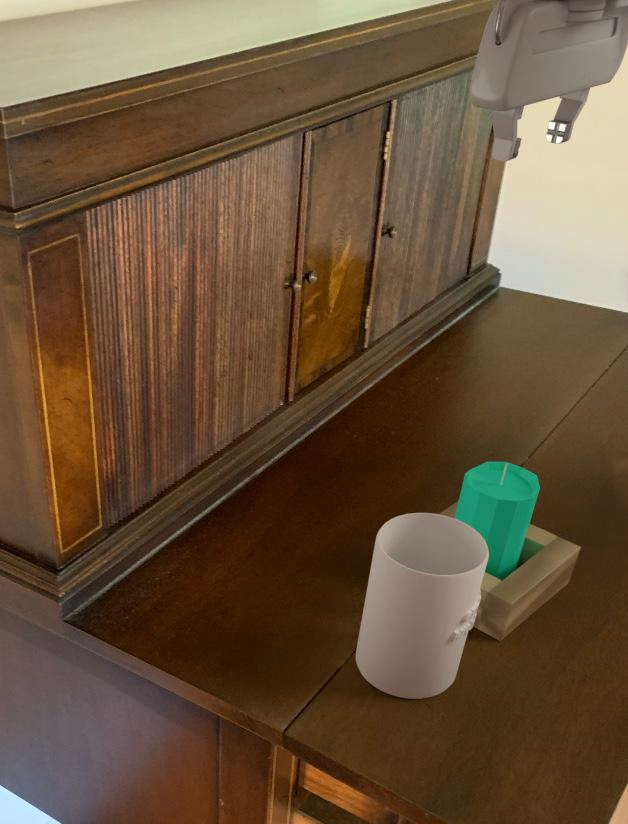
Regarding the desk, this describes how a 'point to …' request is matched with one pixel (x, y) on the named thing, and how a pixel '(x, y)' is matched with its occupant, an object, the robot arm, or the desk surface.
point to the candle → (499, 511)
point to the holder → (524, 581)
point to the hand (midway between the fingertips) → (531, 150)
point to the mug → (420, 603)
